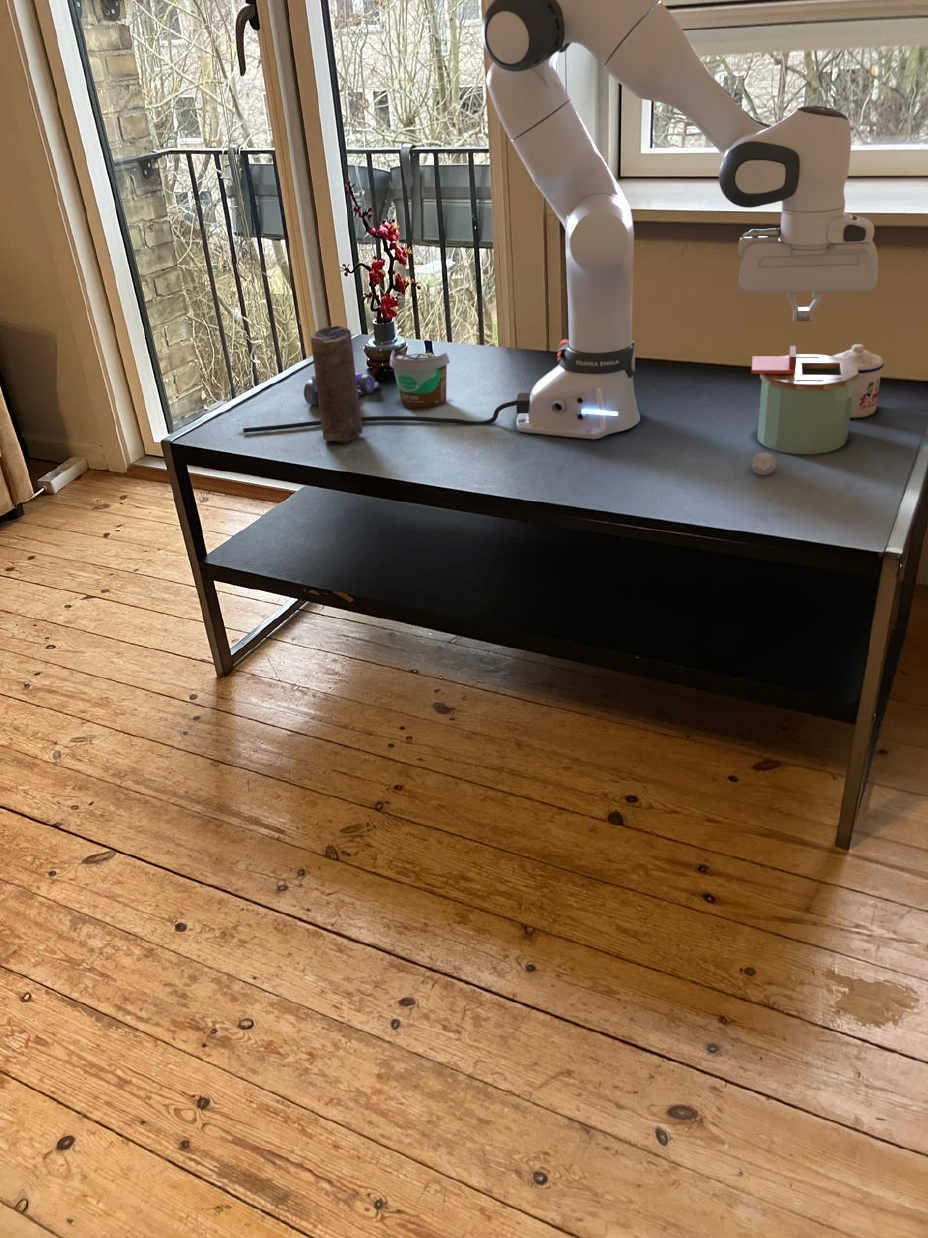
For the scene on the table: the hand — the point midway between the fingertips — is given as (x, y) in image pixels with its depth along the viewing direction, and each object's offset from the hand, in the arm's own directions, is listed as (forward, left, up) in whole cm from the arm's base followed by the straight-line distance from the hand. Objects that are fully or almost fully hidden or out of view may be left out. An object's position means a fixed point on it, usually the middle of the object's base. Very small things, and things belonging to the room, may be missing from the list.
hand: (802, 320), depth 157 cm
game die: (-4, -11, -21) cm, 24 cm away
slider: (-4, +4, -9) cm, 10 cm away
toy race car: (-87, +20, -21) cm, 92 cm away
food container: (-70, +16, -21) cm, 75 cm away
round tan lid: (+2, +4, -10) cm, 11 cm away
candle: (-79, -2, -21) cm, 82 cm away
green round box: (+2, +4, -21) cm, 21 cm away
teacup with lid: (+11, +19, -21) cm, 30 cm away
